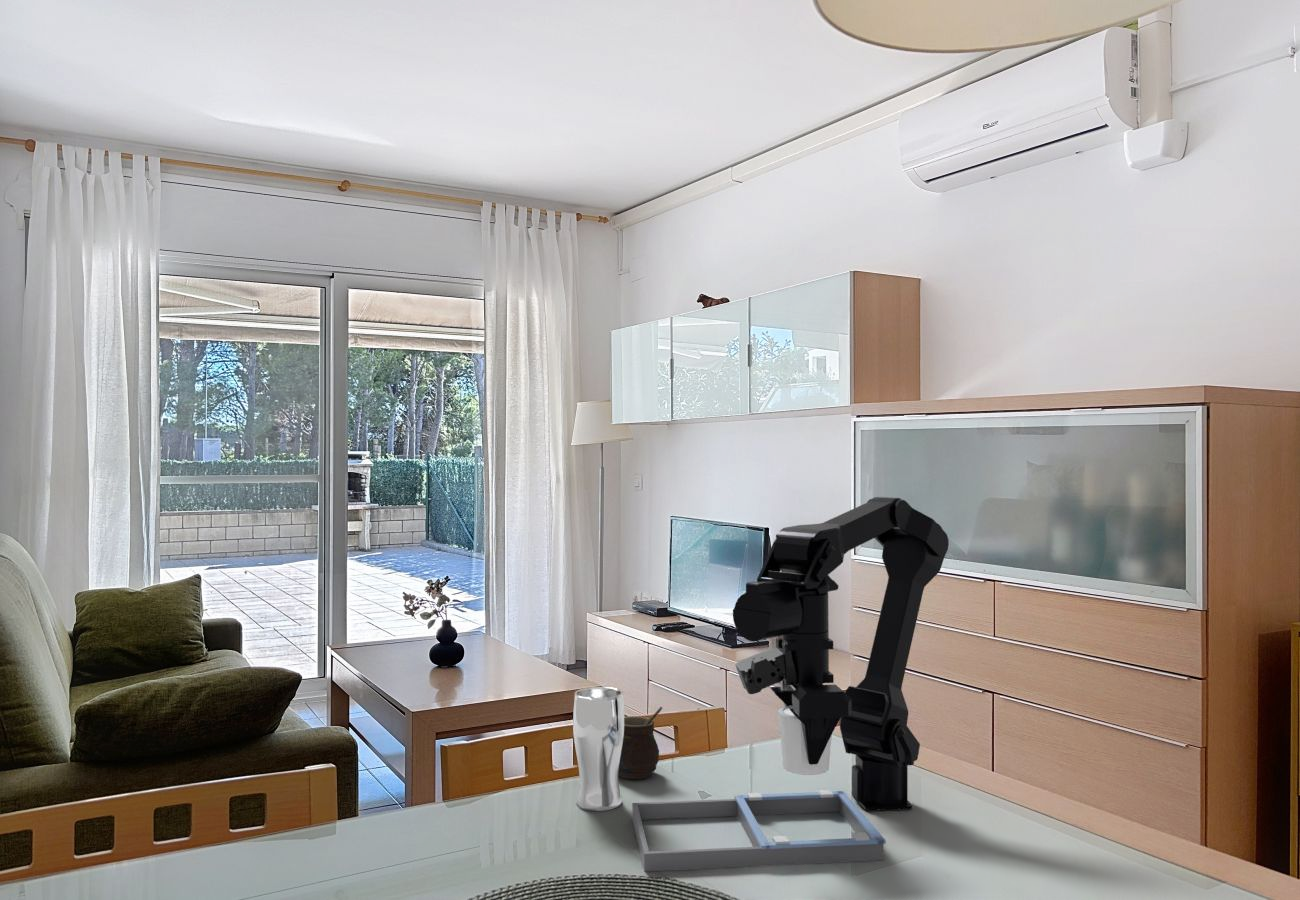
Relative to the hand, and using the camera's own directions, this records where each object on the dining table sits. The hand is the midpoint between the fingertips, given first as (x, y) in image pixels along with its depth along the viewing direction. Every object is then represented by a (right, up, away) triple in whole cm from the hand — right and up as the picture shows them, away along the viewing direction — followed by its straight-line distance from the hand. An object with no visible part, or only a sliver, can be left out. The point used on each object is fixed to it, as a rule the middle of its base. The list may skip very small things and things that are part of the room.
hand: (805, 755), depth 122 cm
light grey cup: (0, -2, 0) cm, 2 cm away
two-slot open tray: (-7, -10, -1) cm, 12 cm away
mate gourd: (-21, -10, +23) cm, 33 cm away
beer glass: (-26, -10, +11) cm, 30 cm away
